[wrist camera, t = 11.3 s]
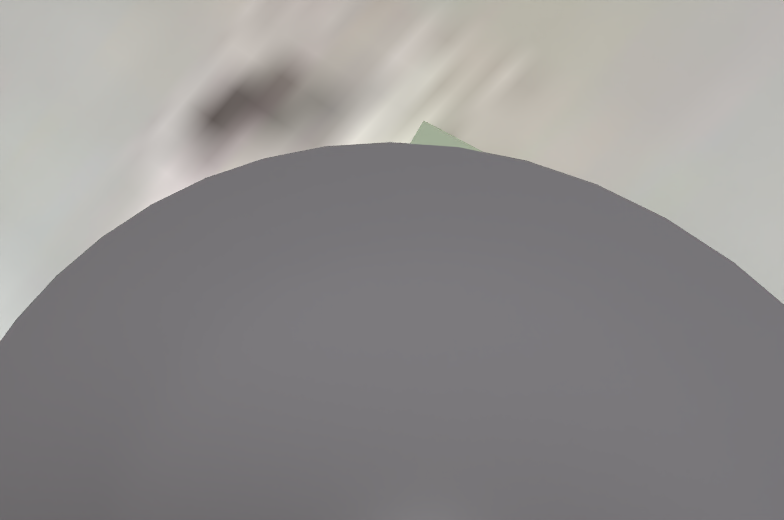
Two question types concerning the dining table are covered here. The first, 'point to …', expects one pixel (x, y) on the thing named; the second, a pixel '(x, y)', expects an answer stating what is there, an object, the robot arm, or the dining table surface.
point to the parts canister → (395, 355)
